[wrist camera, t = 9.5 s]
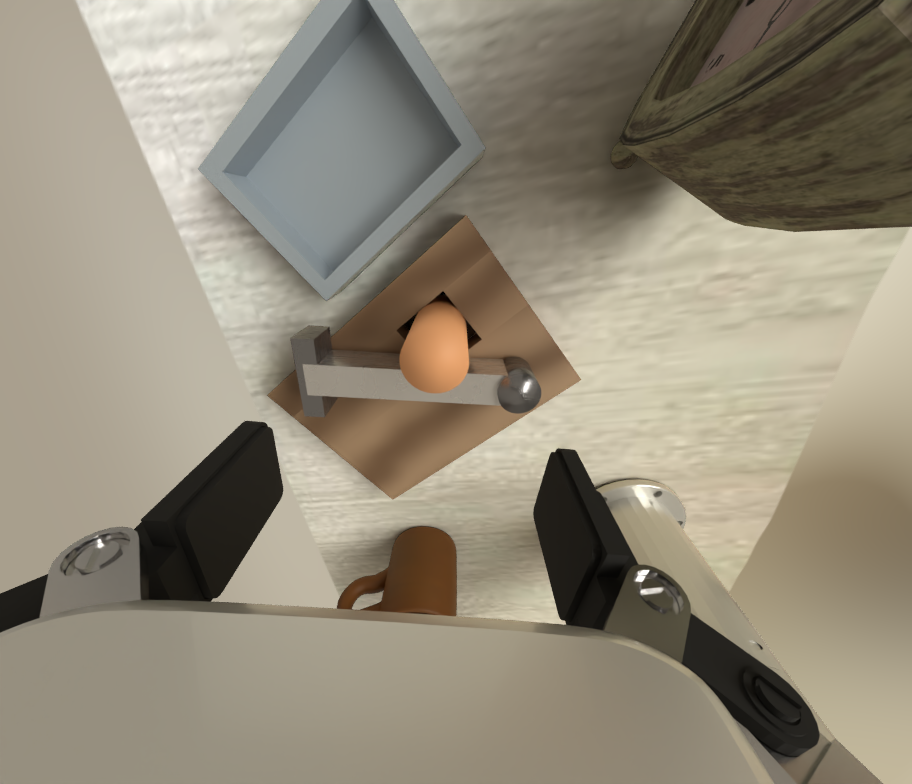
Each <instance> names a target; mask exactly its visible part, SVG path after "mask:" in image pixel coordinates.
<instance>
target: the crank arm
mask: <svg viewBox="0 0 912 784" xmlns="http://www.w3.org/2000/svg"><path fill="white" fill-rule="evenodd" d="M290 339H291V344H292V350H293V355H294V361H295V366H296V372H297V378H298V383H299V389H300V394H301V400H302V405H303V411H304V416H309V417H325V416H326V415H327V413H328V412H329V410H330V409H331V408H332V406H333V405H334V403H335V402H336V400H337V399H338V397H350V398H369V399H387V400H406V401H424V402H443V403H461V404H479V405H498V406H502V407H503V408H504V409H505V410H506V411H508V412H511V413H516V414H520V413H525V412H528V411H530V410H532V409H533V408H534V407H535V406H536V405H537V404H538V403H539V401H540V399H541V388H540V385H539V383H538V381H537V379H536V377H535V375H534V373H533V371H532V369H531V367H530V365H529V363H528V362H527V361H526V360H524V359H523V358H520V357H507V358H505V359H485V358H469V368H468V372H467V374H466V376H465V378H464V379H463V381H462V382H461V383H460V384H459V385H458V386H457V387H455V388H454V389H452V390H450V391H447V392H444V393H427V392H423V391H421V390H419V389H417V388H415V387H414V386H412V385H411V384H410V383H409V382H408V381H407V380H406V378H405V377H404V375H403V373H402V371H401V368H400V362H399V358H400V354H398V353H380V352H363V351H345V350H332V345H331V336H330V328H329V327H326V326H307V327H306V328H305V329H303V330H302V331H300V332H299V333H297V334H296V335H295V336H293V337H292V338H290Z"/></svg>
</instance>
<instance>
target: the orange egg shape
mask: <svg viewBox="0 0 912 784" xmlns="http://www.w3.org/2000/svg"><path fill="white" fill-rule="evenodd" d="M399 362H400V368H401V371H402V373H403V375H404V377H405V378H406V380H407V381H408V382H409V383H410V384H411V385H412V386H414V387H415V388H417V389H419V390H421V391H423V392H427V393H444V392H447V391H450V390H452V389H454V388H455V387H457V386H458V385H459V384H460V383H461V382H462V381H463V379H464V378H465V376H466V374H467V372H468V368H469V354H468V340H467V327H466V319H465V318H464V316H463V315H462V314H461V313H460V311H459V310H458V309H457V308H456V306H455V305H454V304H453V303H452V301H451V300H450V299H449V298H448V296H436V297H435V298H434V299H433V300H432V301H431V302H429V303H428V304H427V305H426V306H425V307H423V308H422V309H421V310H420V311H419V312H418V313H417V315H416V317H415V320H414V322H413V324H412V326H411V329H410V331H409V333H408V335H407V338H406V340H405V342H404V344H403V347H402V349H401V352H400V358H399Z"/></svg>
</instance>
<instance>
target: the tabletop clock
mask: <svg viewBox="0 0 912 784" xmlns="http://www.w3.org/2000/svg"><path fill="white" fill-rule="evenodd" d="M619 139H620V141H619V142H618V143H617V144H616V146H615V147H614V148H613V151H612V154H611V162H612V164H613V165H614V166H615V167H616V168H618V169H623V168H628V167H630V166H631V165H632V164H633V163H634V162H635V161H636V159H637V157H638V156H639V157H640V158H642V159H643V160H644V161H646V162H647V163H649V164H650V165H651V166H653V167H654V168H655V169H657V170H658V171H660V172H661V173H662V174H664V175H665V176H667V177H668V178H669V179H671V180H672V181H673V182H675V183H676V184H678V185H679V186H680V187H682V188H683V189H685V190H686V191H687V192H689V193H690V194H692V195H693V196H694V197H696V198H697V199H698V200H700V201H701V202H703V203H704V204H705V205H707V206H708V207H710V208H711V209H712V210H714V211H715V212H716V213H718V214H719V215H721V216H722V217H723V218H725V219H727V220H729V221H732V222H734V223H738V224H741V225H744V226H752V227H760V228H768V229H776V230H784V231H793V232H801V231H823V230H845V229H866V228H889V227H912V0H696V1H695V3H694V4H693V6H692V8H691V9H690V11H689V13H688V15H687V16H686V18H685V20H684V22H683V23H682V25H681V27H680V28H679V30H678V32H677V34H676V35H675V37H674V39H673V41H672V42H671V44H670V46H669V47H668V49H667V51H666V53H665V54H664V56H663V58H662V60H661V61H660V63H659V65H658V67H657V68H656V70H655V72H654V73H653V75H652V77H651V79H650V80H649V82H648V84H647V86H646V87H645V89H644V91H643V93H642V94H641V96H640V98H639V100H638V102H637V104H636V105H635V107H634V109H633V111H632V113H631V115H630V117H629V119H628V121H627V123H626V125H625V127H624V130H623V132H622V134H621V136H620V138H619Z"/></svg>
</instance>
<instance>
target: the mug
mask: <svg viewBox="0 0 912 784" xmlns="http://www.w3.org/2000/svg"><path fill="white" fill-rule="evenodd" d="M383 590H384V592H383V597H382V601H381V602H380V603H377V604H375V605H372V606H369V607H366V608H364V609H361V610H365V611H381V612H397V613H412V614H428V615H443V616H456V610H457V557H456V547H455V544H454V542H453V540H452V539H451V537H450V536H449V535H448V534H446V533H445V532H443V531H441V530H439V529H436V528H433V527H415V528H411V529H408V530H406V531H404V532H403V533H402V534H400V535H399V536H398V538H397V539H396V541H395V543H394V545H393V549H392V553H391V558H390V563H389V567H388V568H387V569H385V570H384V571H382V572H380V573H378V574H376V575H372V576H365V577H361V578H359V579H357V580H355V581H354V582H352V583H351V584H350V585H349V586H348V587H347V588H346V589H345V590H344V591H343V593H342V594H341V596H340V598H339V600H338V605H337V609H349V610H353V609H352V607H353V604H354V603H355V601H356V600H357V598H358V597H360V596H361V595H363V594H372V593H378V592H381V591H383Z"/></svg>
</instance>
